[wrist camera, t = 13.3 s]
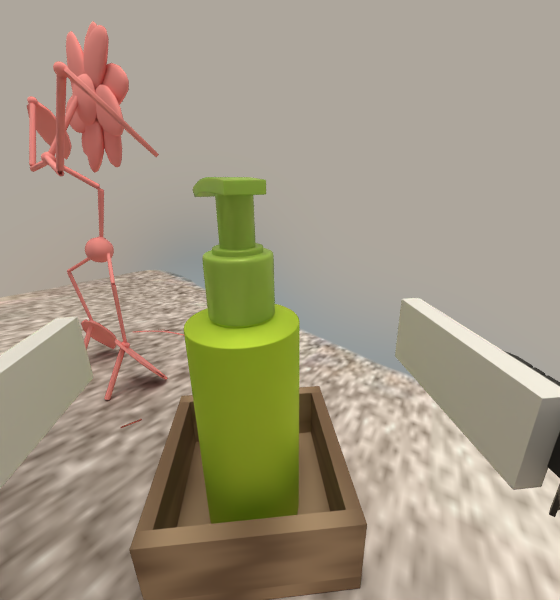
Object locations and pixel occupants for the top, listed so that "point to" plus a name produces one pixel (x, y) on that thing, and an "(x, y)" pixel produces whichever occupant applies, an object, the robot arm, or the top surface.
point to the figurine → (89, 152)
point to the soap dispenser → (244, 368)
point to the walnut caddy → (250, 524)
